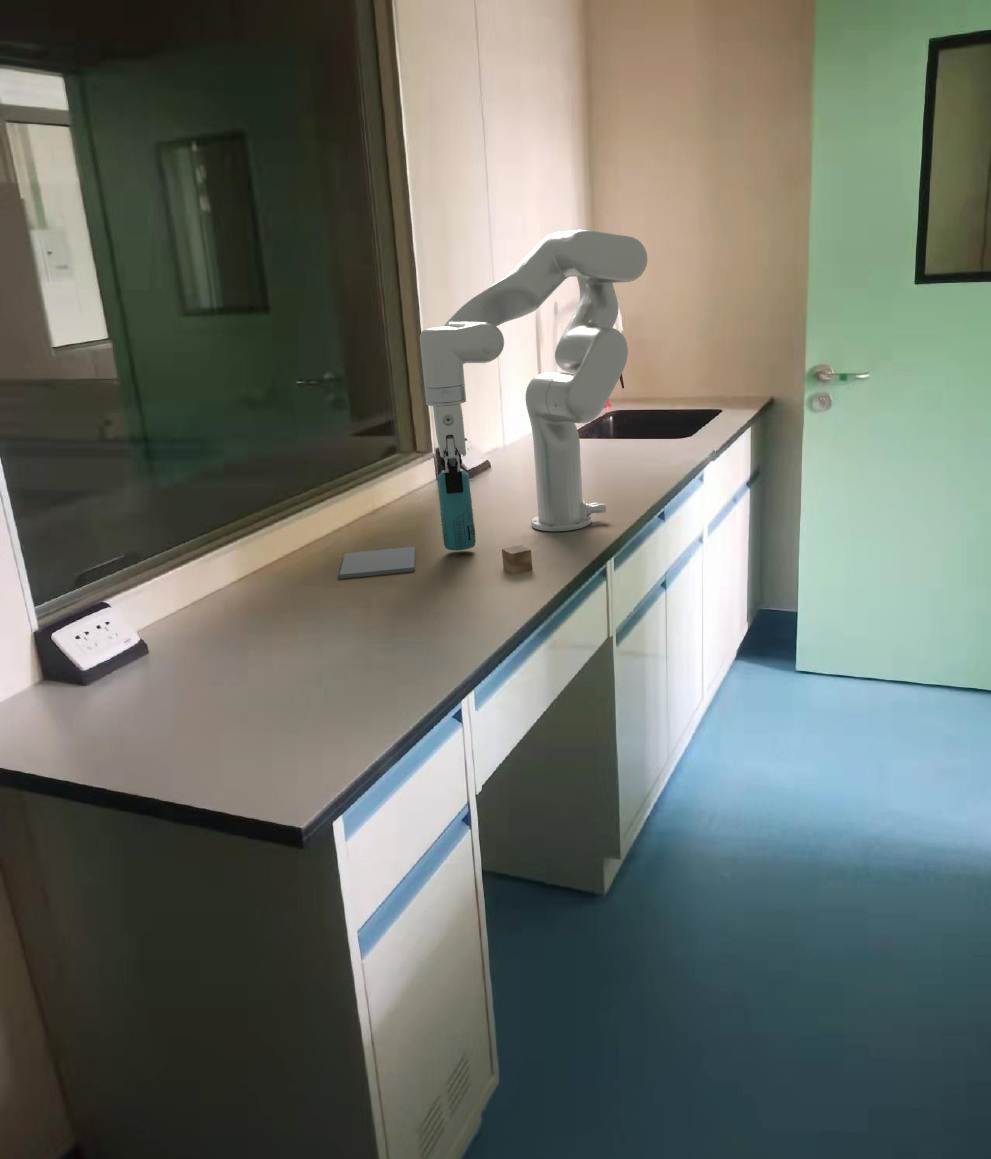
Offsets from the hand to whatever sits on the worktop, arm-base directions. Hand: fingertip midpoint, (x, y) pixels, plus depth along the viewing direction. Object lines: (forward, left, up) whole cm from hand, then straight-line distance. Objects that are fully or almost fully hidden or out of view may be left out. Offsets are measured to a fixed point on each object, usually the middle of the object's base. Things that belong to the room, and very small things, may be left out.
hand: (454, 487), depth 190 cm
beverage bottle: (0, 0, -13) cm, 13 cm away
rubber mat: (+16, +2, -13) cm, 21 cm away
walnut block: (-10, +14, -13) cm, 22 cm away
